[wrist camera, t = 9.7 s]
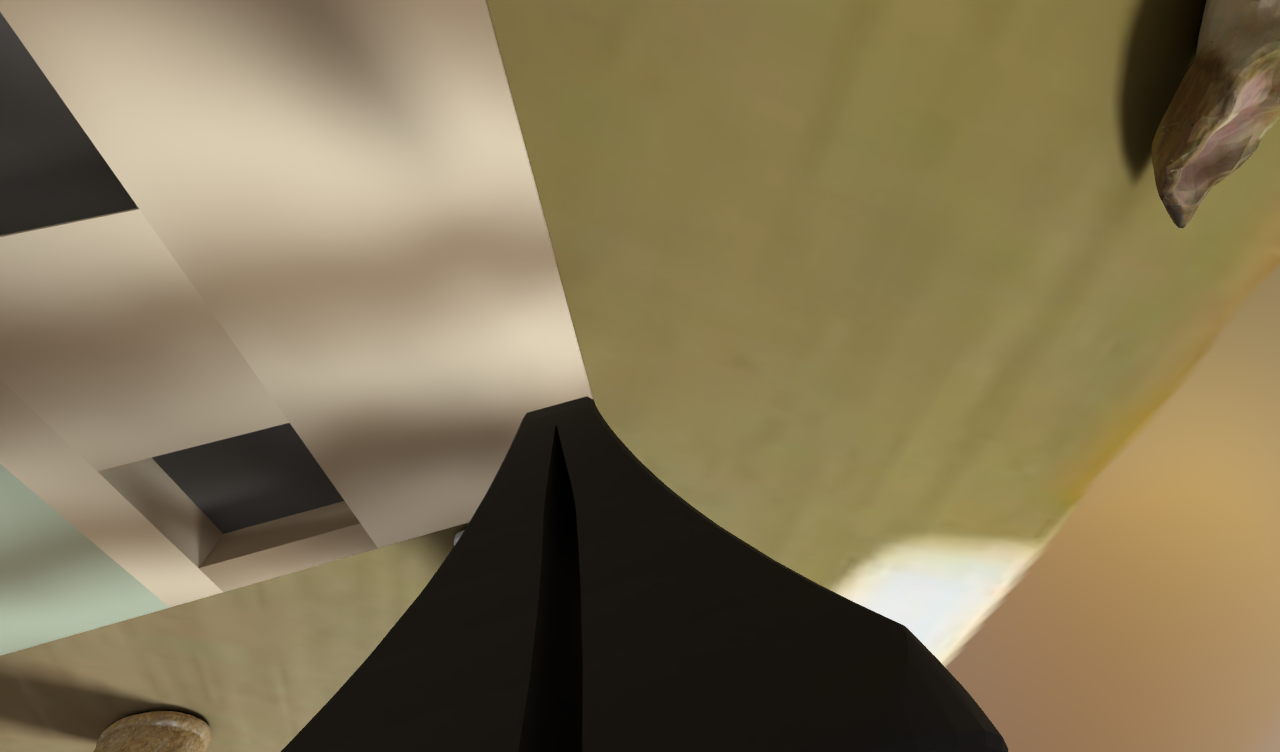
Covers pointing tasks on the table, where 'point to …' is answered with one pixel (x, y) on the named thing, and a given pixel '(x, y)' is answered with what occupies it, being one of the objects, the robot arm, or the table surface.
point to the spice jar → (156, 733)
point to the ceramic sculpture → (1219, 103)
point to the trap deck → (255, 293)
